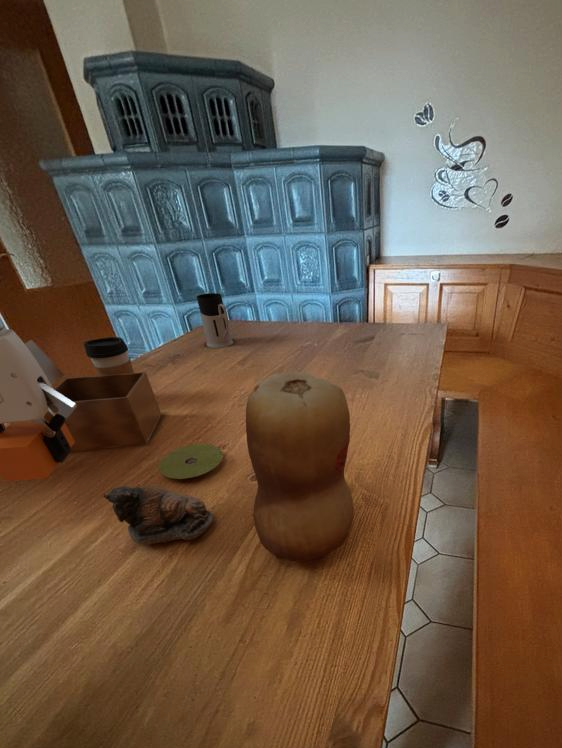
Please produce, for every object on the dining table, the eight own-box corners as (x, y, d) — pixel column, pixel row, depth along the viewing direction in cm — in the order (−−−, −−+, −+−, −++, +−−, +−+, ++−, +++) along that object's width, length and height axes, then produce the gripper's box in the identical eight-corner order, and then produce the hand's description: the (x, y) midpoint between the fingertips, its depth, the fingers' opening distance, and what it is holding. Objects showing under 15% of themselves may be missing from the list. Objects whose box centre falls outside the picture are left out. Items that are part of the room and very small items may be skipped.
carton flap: (33, 401, 70) (32, 402, 70) (64, 374, 80) (62, 375, 80) (-7, 363, 65) (-9, 364, 65) (31, 339, 75) (29, 340, 75)
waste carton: (62, 453, 77) (34, 405, 70) (87, 422, 87) (65, 377, 80) (147, 445, 79) (127, 397, 72) (161, 415, 89) (145, 372, 82)
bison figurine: (215, 512, 62) (198, 461, 56) (216, 543, 57) (197, 490, 50) (134, 529, 59) (107, 477, 53) (127, 563, 54) (96, 510, 48)
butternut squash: (343, 587, 50) (333, 416, 35) (247, 573, 52) (197, 406, 37) (361, 515, 61) (360, 361, 46) (281, 506, 63) (254, 356, 48)
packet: (5, 482, 50) (-19, 449, 47) (38, 445, 57) (20, 414, 54) (47, 478, 50) (27, 446, 47) (75, 442, 57) (59, 412, 54)
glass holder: (226, 338, 135) (215, 291, 125) (246, 347, 126) (236, 298, 117) (202, 343, 130) (189, 295, 121) (221, 354, 122) (209, 303, 112)
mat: (227, 449, 77) (225, 440, 76) (221, 482, 68) (219, 474, 67) (169, 455, 76) (166, 446, 74) (155, 490, 67) (151, 481, 66)
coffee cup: (102, 403, 94) (74, 342, 85) (135, 391, 100) (111, 332, 91) (120, 412, 90) (93, 348, 81) (153, 399, 96) (131, 338, 87)
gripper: (-163, 338, 38) (-45, 481, 49) (26, 329, 40) (98, 468, 52) (-105, 317, 44) (-11, 450, 55) (57, 311, 46) (116, 439, 57)
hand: (41, 458), depth 53 cm, fingers closed on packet, 5 cm apart
